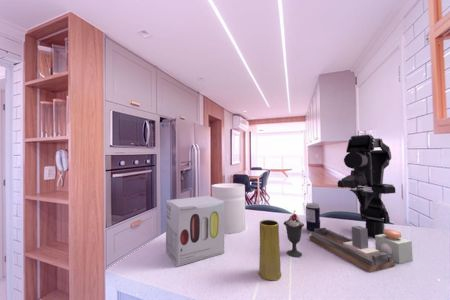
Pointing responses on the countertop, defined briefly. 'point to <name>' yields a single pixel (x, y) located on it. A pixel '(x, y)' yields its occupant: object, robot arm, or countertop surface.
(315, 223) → the beverage can
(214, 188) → the canister
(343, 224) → the countertop surface
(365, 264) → the rail
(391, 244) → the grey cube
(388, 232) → the button
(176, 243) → the supplement box
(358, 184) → the robot arm
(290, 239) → the sundae
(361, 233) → the carriage
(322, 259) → the countertop surface
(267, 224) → the vase
